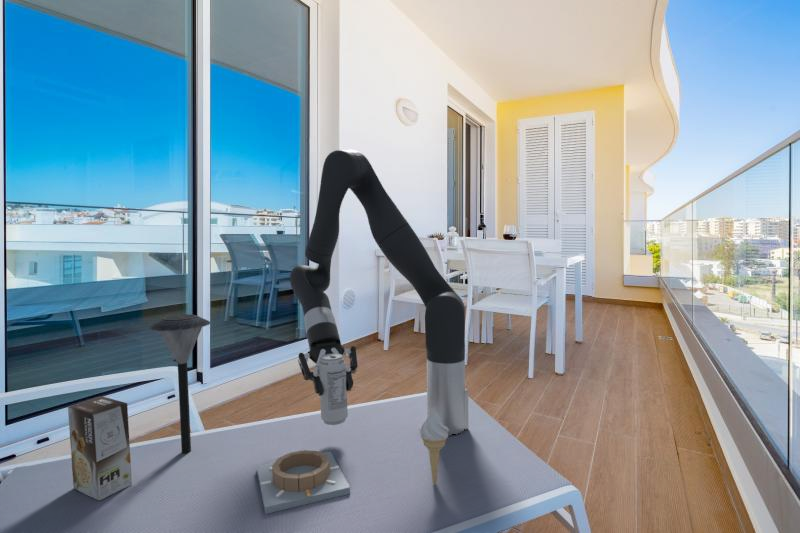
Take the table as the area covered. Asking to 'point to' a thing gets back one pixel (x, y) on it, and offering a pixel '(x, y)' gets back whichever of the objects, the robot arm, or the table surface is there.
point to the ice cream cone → (434, 439)
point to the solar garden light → (181, 359)
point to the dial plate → (300, 480)
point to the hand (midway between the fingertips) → (335, 391)
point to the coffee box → (100, 446)
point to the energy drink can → (333, 389)
